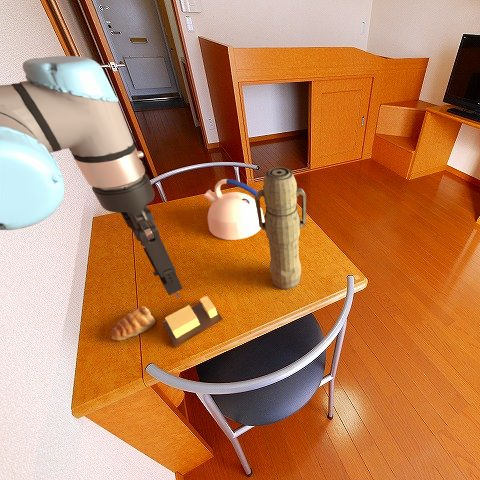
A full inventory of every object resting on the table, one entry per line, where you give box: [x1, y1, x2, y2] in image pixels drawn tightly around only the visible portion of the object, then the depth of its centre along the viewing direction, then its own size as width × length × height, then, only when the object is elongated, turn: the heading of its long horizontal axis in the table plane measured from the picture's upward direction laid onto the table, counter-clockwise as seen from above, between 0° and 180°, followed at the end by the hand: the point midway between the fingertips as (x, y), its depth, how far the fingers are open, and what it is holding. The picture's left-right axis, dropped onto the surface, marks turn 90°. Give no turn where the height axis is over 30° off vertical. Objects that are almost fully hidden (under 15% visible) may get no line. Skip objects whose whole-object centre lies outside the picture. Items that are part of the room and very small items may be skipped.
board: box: [162, 302, 223, 348], centre depth 70 cm, size 12×8×1 cm, turn 131°
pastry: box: [109, 306, 156, 342], centre depth 68 cm, size 9×7×4 cm
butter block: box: [164, 304, 200, 338], centre depth 68 cm, size 6×5×3 cm
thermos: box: [254, 166, 307, 291], centre depth 72 cm, size 9×12×35 cm
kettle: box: [203, 178, 265, 241], centre depth 97 cm, size 20×21×18 cm
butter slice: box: [199, 295, 218, 318], centre depth 71 cm, size 2×5×3 cm, turn 41°
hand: (168, 279), depth 57 cm, fingers closed on cutter, 7 cm apart
